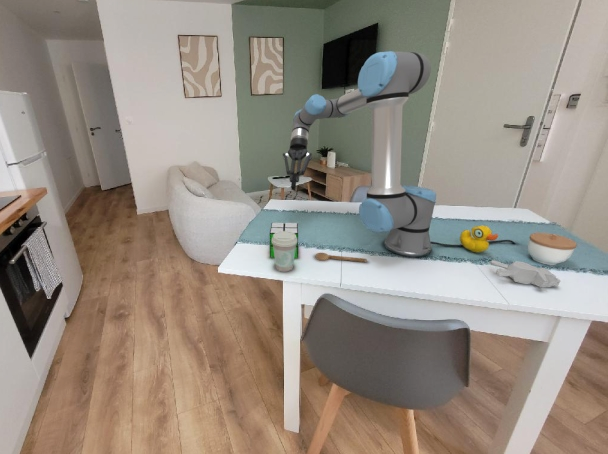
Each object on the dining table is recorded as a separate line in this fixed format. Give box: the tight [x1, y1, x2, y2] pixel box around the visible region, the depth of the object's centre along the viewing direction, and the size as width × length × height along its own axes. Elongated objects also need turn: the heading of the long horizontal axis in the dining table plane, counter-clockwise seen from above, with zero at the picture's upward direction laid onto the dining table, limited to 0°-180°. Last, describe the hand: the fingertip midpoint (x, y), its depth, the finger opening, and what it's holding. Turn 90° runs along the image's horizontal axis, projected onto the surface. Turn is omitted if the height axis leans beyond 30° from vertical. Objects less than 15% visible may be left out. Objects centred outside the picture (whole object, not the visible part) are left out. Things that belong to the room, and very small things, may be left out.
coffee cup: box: [272, 231, 299, 273], centre depth 97 cm, size 8×9×12 cm
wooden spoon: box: [315, 252, 368, 263], centre depth 102 cm, size 17×4×1 cm, turn 73°
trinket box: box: [527, 232, 578, 266], centre depth 94 cm, size 11×11×9 cm
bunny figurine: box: [489, 259, 561, 288], centre depth 86 cm, size 10×5×15 cm
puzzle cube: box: [269, 222, 299, 259], centre depth 108 cm, size 10×10×10 cm
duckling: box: [459, 225, 499, 253], centre depth 102 cm, size 11×5×10 cm, turn 17°
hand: (293, 188), depth 120 cm, fingers closed
